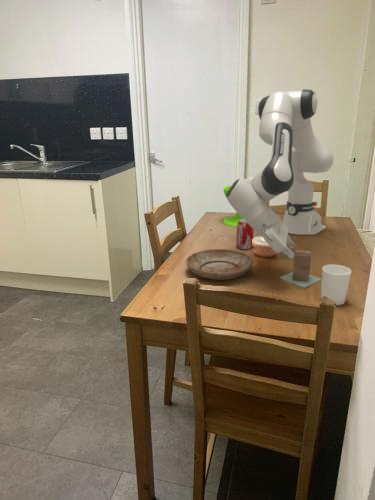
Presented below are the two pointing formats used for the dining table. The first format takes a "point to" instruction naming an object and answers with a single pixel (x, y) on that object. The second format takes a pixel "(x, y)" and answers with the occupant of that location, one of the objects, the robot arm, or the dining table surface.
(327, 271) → the white cup
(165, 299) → the dining table surface
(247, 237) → the soda can
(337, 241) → the dining table surface
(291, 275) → the rubber mat
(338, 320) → the dining table surface
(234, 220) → the wineglass
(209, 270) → the ceramic bowl
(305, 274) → the walnut block
